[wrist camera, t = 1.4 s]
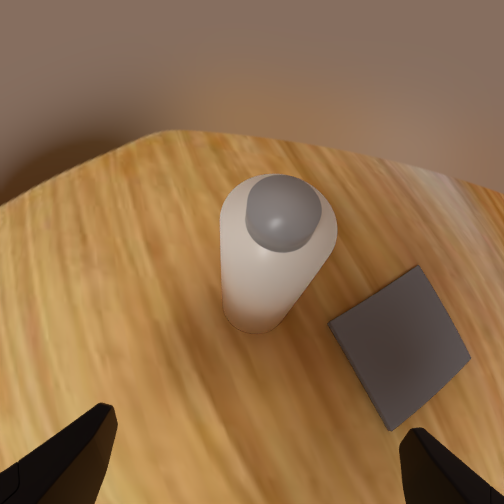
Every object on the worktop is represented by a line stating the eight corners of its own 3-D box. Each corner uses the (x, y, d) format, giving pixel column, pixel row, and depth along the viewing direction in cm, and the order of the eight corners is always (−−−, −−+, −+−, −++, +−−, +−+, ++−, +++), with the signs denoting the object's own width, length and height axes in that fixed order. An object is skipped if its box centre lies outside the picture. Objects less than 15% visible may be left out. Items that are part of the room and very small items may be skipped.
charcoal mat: (467, 359, 22) (471, 358, 22) (388, 430, 20) (391, 431, 19) (415, 267, 26) (418, 264, 25) (327, 323, 23) (329, 321, 23)
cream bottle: (298, 315, 23) (369, 232, 12) (241, 345, 22) (259, 288, 10) (267, 261, 25) (303, 143, 13) (211, 287, 24) (198, 179, 12)
